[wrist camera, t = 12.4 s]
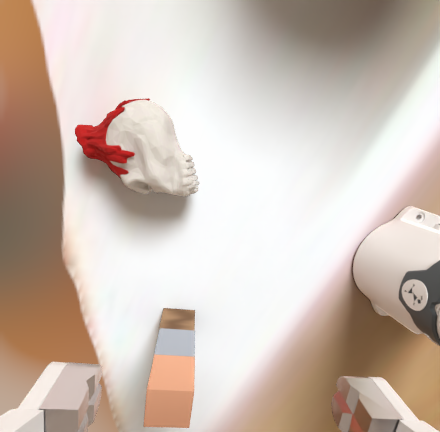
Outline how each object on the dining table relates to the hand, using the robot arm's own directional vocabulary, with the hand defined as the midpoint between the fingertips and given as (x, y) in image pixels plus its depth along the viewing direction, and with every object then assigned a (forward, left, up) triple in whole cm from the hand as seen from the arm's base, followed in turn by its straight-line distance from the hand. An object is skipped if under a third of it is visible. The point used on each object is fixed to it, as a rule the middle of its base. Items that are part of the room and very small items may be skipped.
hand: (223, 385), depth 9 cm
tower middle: (+2, +20, -26) cm, 33 cm away
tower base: (+2, +20, -31) cm, 37 cm away
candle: (+9, -7, -31) cm, 33 cm away
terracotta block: (+2, +20, -21) cm, 29 cm away
